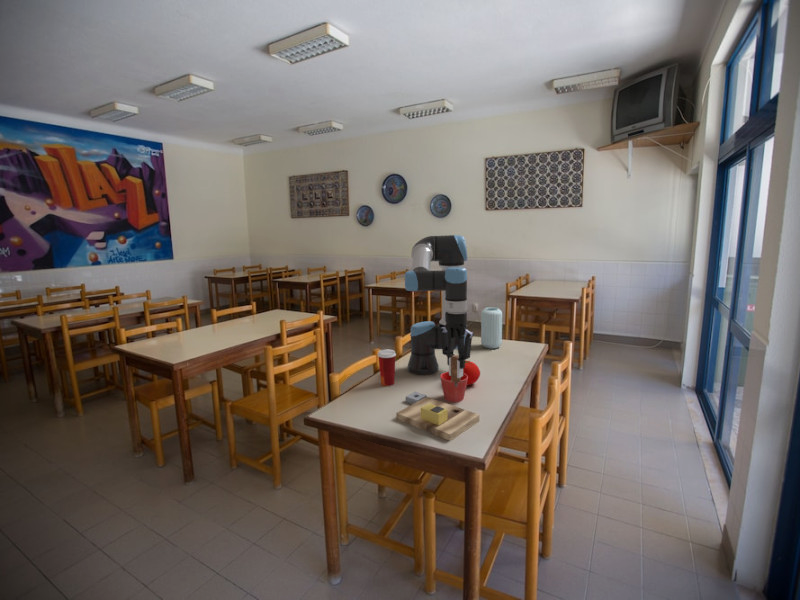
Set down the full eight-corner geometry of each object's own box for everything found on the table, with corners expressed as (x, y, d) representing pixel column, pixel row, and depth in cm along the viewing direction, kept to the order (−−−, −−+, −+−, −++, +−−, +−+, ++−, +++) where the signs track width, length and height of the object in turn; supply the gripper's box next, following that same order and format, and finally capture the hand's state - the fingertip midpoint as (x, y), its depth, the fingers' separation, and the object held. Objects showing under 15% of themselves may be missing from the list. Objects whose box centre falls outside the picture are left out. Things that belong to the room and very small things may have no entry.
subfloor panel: (396, 419, 149) (396, 412, 148) (427, 402, 162) (427, 396, 161) (450, 441, 133) (450, 434, 132) (479, 420, 146) (479, 414, 145)
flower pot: (461, 406, 157) (461, 382, 156) (436, 400, 163) (435, 377, 161) (471, 396, 166) (471, 373, 164) (447, 391, 172) (447, 369, 170)
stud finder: (420, 418, 143) (420, 407, 143) (429, 413, 147) (429, 402, 146) (438, 425, 138) (438, 413, 137) (447, 420, 142) (447, 408, 141)
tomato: (459, 376, 188) (459, 355, 186) (483, 382, 181) (484, 359, 179) (447, 385, 179) (447, 362, 177) (472, 390, 172) (473, 367, 170)
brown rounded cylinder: (449, 386, 146) (449, 357, 144) (454, 383, 149) (454, 354, 147) (457, 389, 144) (457, 358, 142) (462, 386, 146) (462, 356, 144)
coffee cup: (399, 381, 184) (399, 350, 181) (391, 388, 176) (390, 355, 174) (383, 379, 187) (382, 348, 184) (375, 385, 180) (373, 353, 177)
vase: (481, 349, 227) (481, 310, 223) (480, 343, 238) (481, 306, 234) (502, 349, 225) (503, 310, 221) (500, 343, 237) (501, 306, 233)
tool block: (405, 401, 163) (405, 396, 162) (415, 397, 167) (415, 391, 166) (417, 406, 159) (417, 400, 158) (426, 401, 163) (426, 395, 162)
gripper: (431, 310, 144) (432, 373, 148) (469, 316, 133) (469, 384, 138) (444, 307, 149) (444, 367, 154) (481, 312, 139) (480, 377, 143)
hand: (456, 375), depth 146 cm, fingers closed on brown rounded cylinder, 3 cm apart
